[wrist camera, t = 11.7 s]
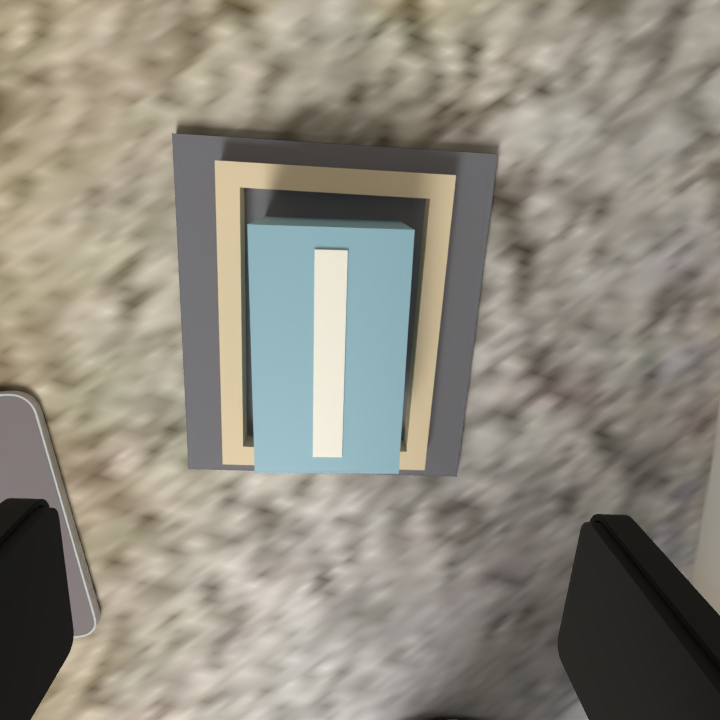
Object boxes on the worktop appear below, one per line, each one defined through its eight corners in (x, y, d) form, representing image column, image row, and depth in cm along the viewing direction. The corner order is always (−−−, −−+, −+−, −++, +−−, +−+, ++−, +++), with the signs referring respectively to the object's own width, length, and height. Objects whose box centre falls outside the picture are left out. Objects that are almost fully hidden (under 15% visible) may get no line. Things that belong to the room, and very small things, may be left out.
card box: (265, 216, 24) (247, 224, 19) (399, 220, 24) (415, 229, 19) (269, 421, 27) (254, 473, 22) (387, 423, 27) (398, 475, 22)
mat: (454, 471, 29) (461, 488, 27) (191, 463, 28) (182, 481, 26) (494, 154, 24) (506, 152, 22) (175, 134, 23) (163, 130, 21)
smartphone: (31, 391, 26) (101, 635, 31) (42, 385, 27) (108, 623, 31) (-122, 404, 26) (-29, 647, 30) (-107, 397, 27) (-19, 634, 31)
